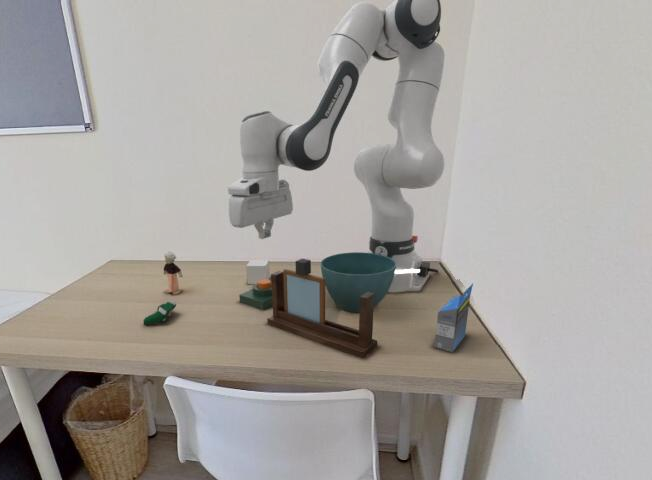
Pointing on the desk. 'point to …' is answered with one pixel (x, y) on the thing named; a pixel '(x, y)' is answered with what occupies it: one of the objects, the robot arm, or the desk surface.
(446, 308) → the blue cardboard box
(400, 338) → the desk surface
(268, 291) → the green push button base
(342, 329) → the window frame
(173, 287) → the grandmother figurine
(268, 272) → the white cube
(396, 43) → the robot arm
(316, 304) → the window pane
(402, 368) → the desk surface
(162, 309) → the green shoe
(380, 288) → the teal bowl
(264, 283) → the latch button
